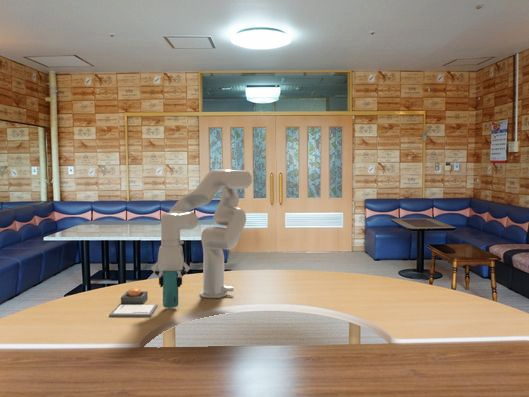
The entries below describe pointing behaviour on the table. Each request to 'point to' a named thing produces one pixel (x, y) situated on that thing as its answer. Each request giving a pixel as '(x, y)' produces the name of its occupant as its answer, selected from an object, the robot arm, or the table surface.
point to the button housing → (134, 298)
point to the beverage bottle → (170, 289)
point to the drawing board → (133, 310)
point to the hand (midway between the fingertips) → (170, 286)
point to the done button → (134, 292)
